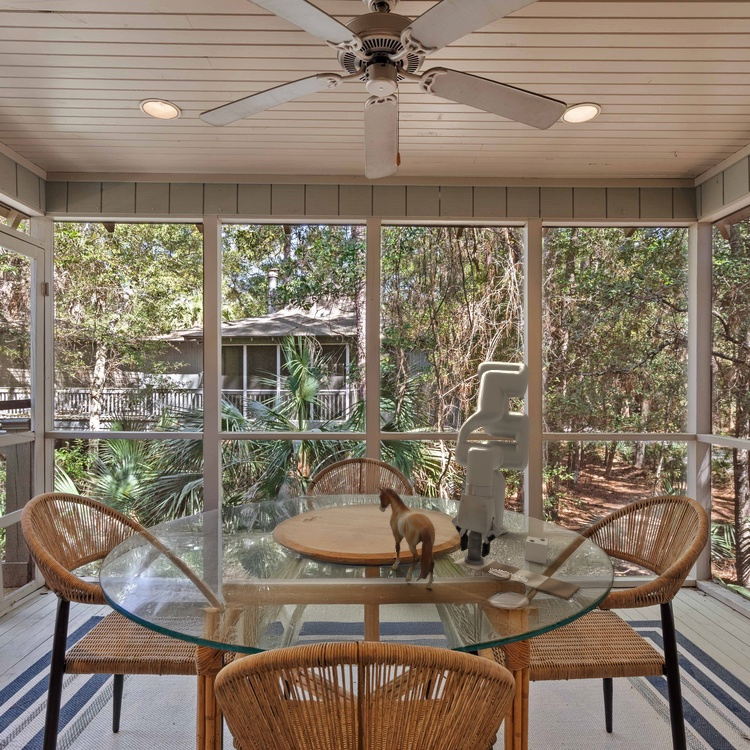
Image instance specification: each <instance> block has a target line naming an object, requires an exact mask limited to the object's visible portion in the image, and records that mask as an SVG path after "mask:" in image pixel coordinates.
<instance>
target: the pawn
mask: <svg viewBox="0 0 750 750" xmlns="http://www.w3.org/2000/svg"><path fill="white" fill-rule="evenodd" d="M468 537H469V538H468V549H467V555H465V556H464V557H465V559H464V561H465V562H466V563H467V564H470V565H483V563H484V559H485V558H484V557H482V543H483V535H482V533H478V532H474V531H470V530H469V535H468ZM483 558H484V559H483Z"/></svg>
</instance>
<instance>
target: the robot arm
mask: <svg viewBox="0 0 750 750" xmlns="http://www.w3.org/2000/svg"><path fill="white" fill-rule="evenodd" d="M530 375H531V374H530V368H529V367H528V365H527V364H525V363H521V362H507V361H506V362H505V361H483V362H481V363H480V364H478V366H477V378H478V380H479V388H478V394H477V401H476V408H475V409H476V410H475V412H473V414H471V415H470V416H468V418H466V420H464V421H463V423H462V425H461V426H460V428H459V430H458V432H457V437H456V444H455V450H454V451H455V452H454V459H455V462H456V464H457V465H459V466H461V467H465V468H466V472H465V482H462V483H461V488H463V489H464V492H462V493H461V497H460V501H459V505H458V511H457V515H456V516H455V517H454V518H453V519H452V520H451V523H452V525H453V526H454V527H455V529H456V531H457V533H458V536H459V537H460V540H459V547H460V551H461V552H464V551H467V550H468V541H469V535H468V532H470V531H474V532H478V533H482V539H483V542H482V549H481V557H482V558H486V557H487V556H489V554H490V553H491V552H490V551H491V542H493V541H494V540H495V539H496V538H498V537H499V536H500V535H503V534H506V533H507V532H508V526H506V525H504V518H505V517H504V516H505V515H504V514H505V499H506V483H507V482H506V479H505V478H506V477H505V476H504V475H503V473H502V472H501V470H500V469H503V470H513V471H524V470H526V469H527V467H528V463H529V458H530V457H529V455H530V440H531V439H530V437H531V421H530V417H529V415H528V414H527V413H525V412H522V411H512V410H510V398H518V399H519V398H523V397H524V396H525V394H526V393H527V391H528V390H527V389H528V385H529V382H530ZM480 428H483V432H484V433H485V434H486V435H487V436H490V437H493V438H495V437H496V438H502V439H504V438H505V439H512V440H515V441H514V442H513V441H504V440H503V441H502V440H495V439H492V440H491V439H489V440H488V439H487V440H483V441H482V442H473V441H472V442H471V441H468V437H469V435H471V434H472V432H473V433H474V431H476V430H477V429H480Z"/></svg>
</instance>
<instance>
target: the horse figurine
mask: <svg viewBox="0 0 750 750" xmlns="http://www.w3.org/2000/svg"><path fill="white" fill-rule="evenodd" d="M378 490H379V491H380V494H379V495H378V497H379V498H378V499H379V501H380V502H379V503H380V504H379V508H378V509H379V510H380V512H381V513H384V512H386V509H387V508H388V507H389V506H390V507H391V516H390V518H389V519H390V520H389V526H390V530H391V531H392V536H393V538H394V541H395V546H394V547H395V549H396V552H397V558H396V559H395V562H394V563H393V565H392V566H391V569H392V570H396V571H397V570H398V567H399V564H400V562H401V561H400V553H401V543H402V540H404V539H405V541H406V543H407V544H408V550H409V551H410V553H411V554H412V556H413V560H412V563H411V564H410V567H409V568H408V570H407V574H406V578H405V582H406V583H409V582H411V581H412V575H411V574H412V573H413V572H414V569H415V567H416V565H417V564H418V563H419V562H420V573H419V575H418V578H417V579H416V582H418V581H420V579H423V580H426V579H427V577H428V576H429V578H428V579H429V580H428V582H427V583H426V585H425V588H426V589H433V587H434V584H433V583H434V580H435V579H434V578H435V577H434V569H435V564H436V563H435V560H434V555H433V549H434V545H435V541H436V530H435V526H434V524H433V522H432V521H431V519H430V518H429V517H428V516H427V515H426V514H424V513H416V512H413V511H412V510H411V509H410V508H409V507H408V506H407V505H406V503H405V502H404V501H403V499H402V498H401V496H400V495H399V494H398V493H397V492H396V491H395V490H394V489H392V488H390V487H386V488H385V487H384V486H382V488H381V487H380V486H379V487H378ZM420 543H421V555H420V556H421V557H420V556H419V553H418V550H417V546H418V545H419V544H420ZM395 549H394V550H395Z"/></svg>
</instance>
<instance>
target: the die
mask: <svg viewBox="0 0 750 750" xmlns="http://www.w3.org/2000/svg"><path fill="white" fill-rule="evenodd" d="M524 546H525V548H524V549H525V550H524V561H529V562H534V563H540V564H544V565H546V564H547V561H548V554H549V553H548V551H549V539H546V538H541V537H540V538H539V537H535V536H527V537H526V540H525V545H524Z"/></svg>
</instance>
